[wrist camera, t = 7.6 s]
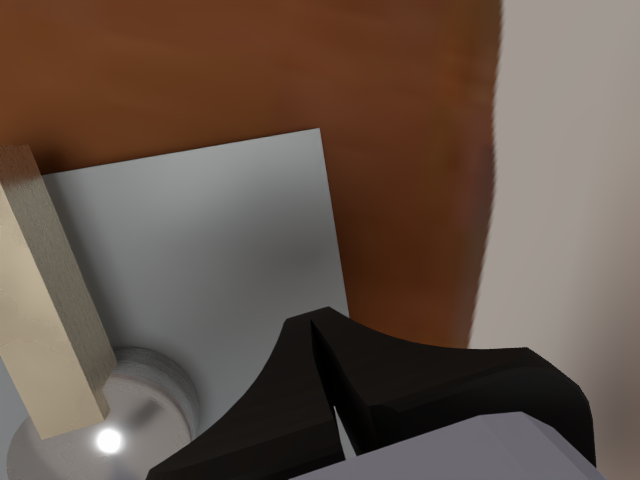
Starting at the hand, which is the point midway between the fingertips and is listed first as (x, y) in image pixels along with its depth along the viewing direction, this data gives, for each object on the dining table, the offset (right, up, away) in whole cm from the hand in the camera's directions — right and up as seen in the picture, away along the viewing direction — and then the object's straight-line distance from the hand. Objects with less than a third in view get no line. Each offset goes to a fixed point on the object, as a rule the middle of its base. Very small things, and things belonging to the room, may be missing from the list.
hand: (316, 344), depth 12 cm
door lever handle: (-9, -1, +5) cm, 10 cm away
